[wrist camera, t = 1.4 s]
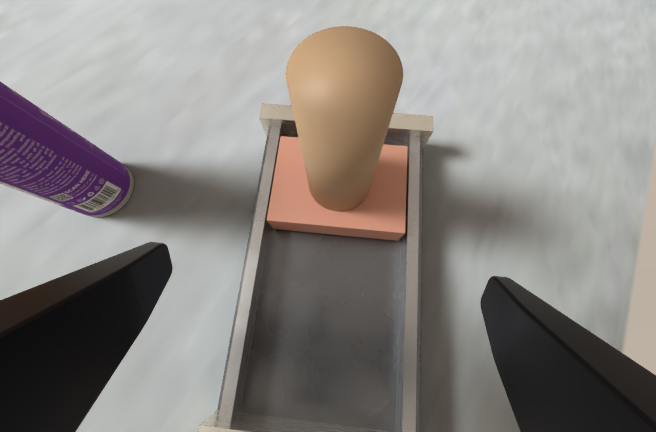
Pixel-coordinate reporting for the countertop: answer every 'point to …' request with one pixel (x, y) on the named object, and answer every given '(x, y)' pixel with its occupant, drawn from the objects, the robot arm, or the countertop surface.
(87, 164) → the container
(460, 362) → the countertop surface
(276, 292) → the slide base
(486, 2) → the countertop surface
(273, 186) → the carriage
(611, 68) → the countertop surface
